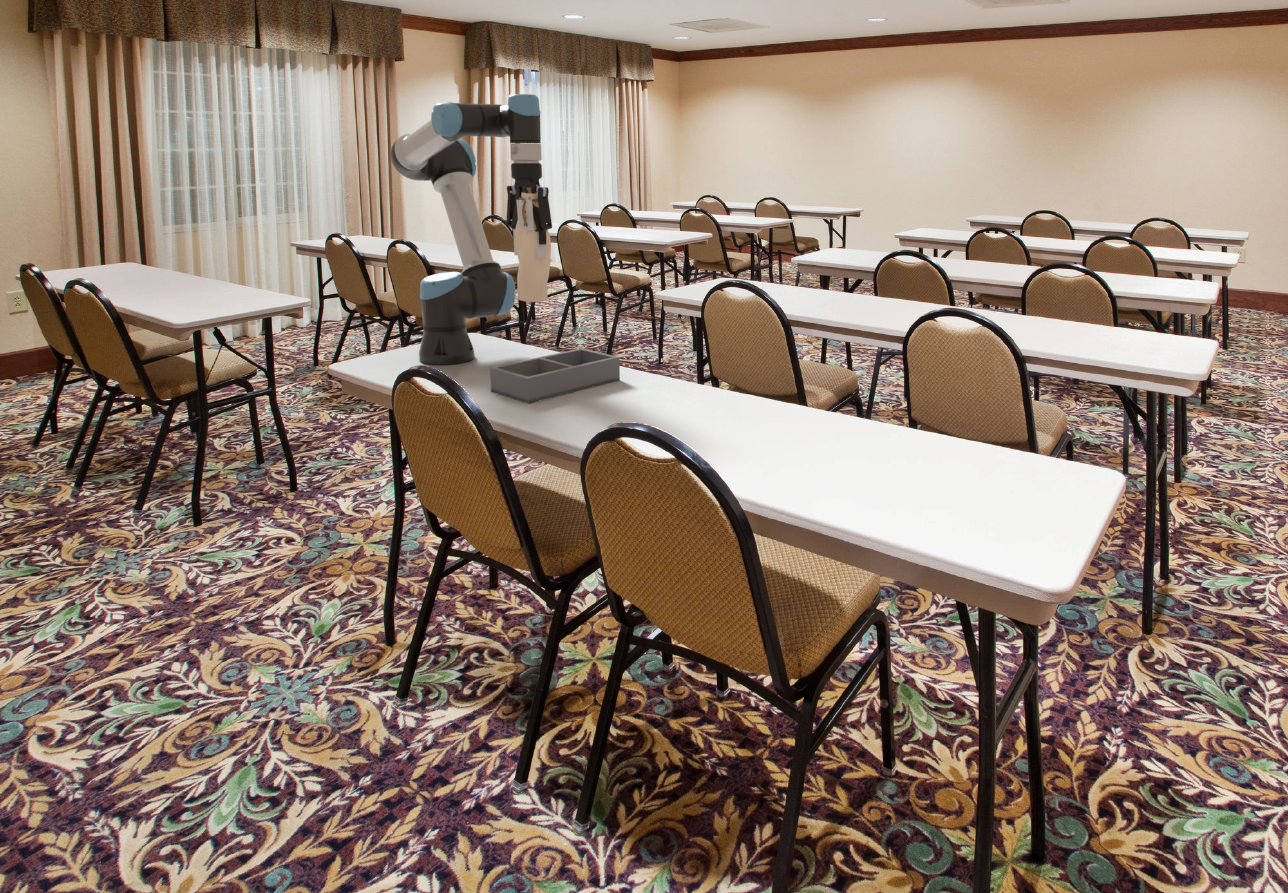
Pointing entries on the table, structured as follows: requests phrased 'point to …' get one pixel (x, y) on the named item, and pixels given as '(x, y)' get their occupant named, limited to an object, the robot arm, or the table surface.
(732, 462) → the table surface
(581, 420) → the table surface
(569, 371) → the bottle caddy
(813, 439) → the table surface
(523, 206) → the water bottle
